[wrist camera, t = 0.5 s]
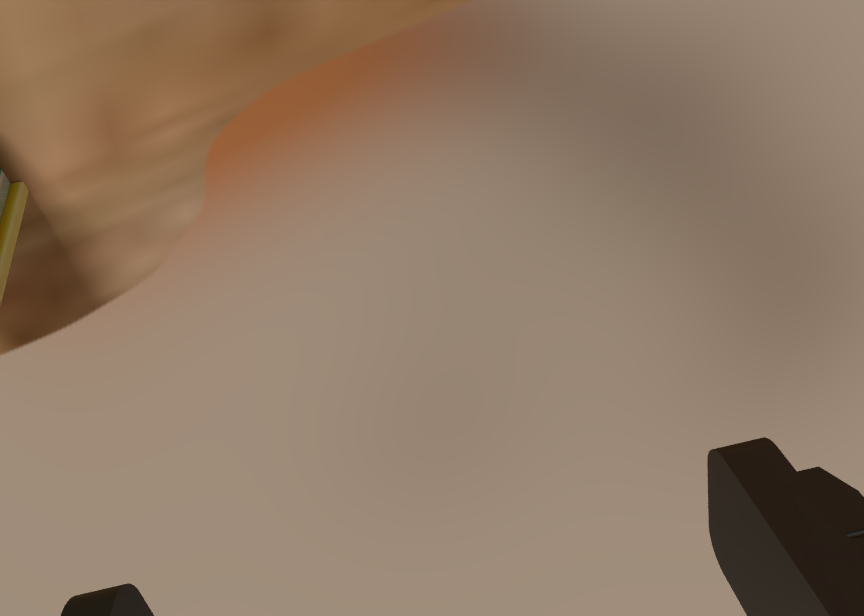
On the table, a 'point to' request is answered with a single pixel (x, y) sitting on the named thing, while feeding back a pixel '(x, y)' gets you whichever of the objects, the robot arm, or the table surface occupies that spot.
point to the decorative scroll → (9, 223)
